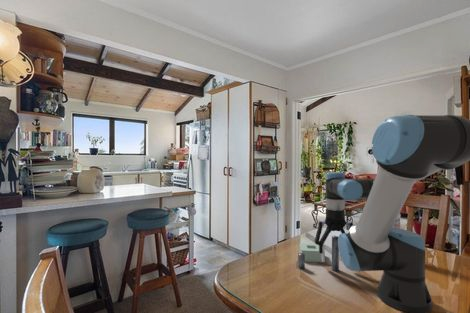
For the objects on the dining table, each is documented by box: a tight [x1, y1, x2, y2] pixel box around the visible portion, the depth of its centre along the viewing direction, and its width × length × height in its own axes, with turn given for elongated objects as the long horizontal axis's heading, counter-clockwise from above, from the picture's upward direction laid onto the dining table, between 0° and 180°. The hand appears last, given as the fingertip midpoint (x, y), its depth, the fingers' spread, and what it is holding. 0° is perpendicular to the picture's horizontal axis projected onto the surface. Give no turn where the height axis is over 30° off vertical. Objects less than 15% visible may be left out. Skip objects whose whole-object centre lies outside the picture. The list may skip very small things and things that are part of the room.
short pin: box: [297, 252, 306, 270], centre depth 108 cm, size 3×3×6 cm
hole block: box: [299, 242, 326, 263], centre depth 119 cm, size 10×10×5 cm
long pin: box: [331, 235, 340, 272], centre depth 106 cm, size 3×3×14 cm
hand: (335, 261), depth 106 cm, fingers open, 9 cm apart
